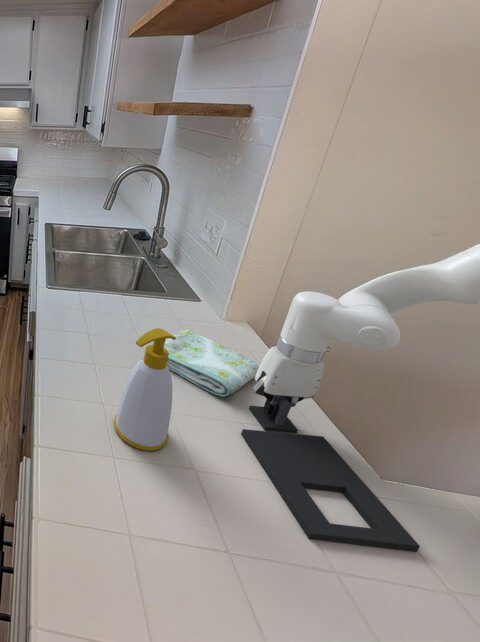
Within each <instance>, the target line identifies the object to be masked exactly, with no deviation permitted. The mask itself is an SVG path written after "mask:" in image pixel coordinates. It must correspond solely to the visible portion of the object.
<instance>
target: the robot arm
mask: <svg viewBox="0 0 480 642" xmlns="http://www.w3.org/2000/svg"><path fill="white" fill-rule="evenodd" d="M430 302H454V303H460V304H461V303H462V304H470V305H480V243H478V244H475V245H474V246H472V247H471V246H470V247H469V248H467V249H465V250H462V251H460V252H458V253H456V254H453V255H452V256H449V257H446V258H445V259H443V260H440V261H437V262H433V263H429V264H423V265H418V266H414V267H411V268H406V269H401V270H397V271H394V272H389V273H386V274H384V275H380V276H378V277H376V278H374V279H372V280H370V281H368V282H365V283H363V284H361V285H359V286H357V287H355V288H352V289H351V290H349V291H347V292H346V293H344V294H343V295H342V296H340V297H339V298H338V299H336V298H335V297H333V296H331V295H329V294H326V293H322V292H317V291H307V290H306V291H300V292H298V293H296V294H295V295H294V296H293V300H292V302H291V304H290V307H289V310H288V312H287V315H286V317H285V321H284V323H283V326H282V329H281V331H280V335H279V337H278V339H277V342H276V346H271V347H270V348H269V349H268V350H267V352H266V354H265V355H264V357H263V359H262V360H261V362H260V364H259V368H258V371H257V373H256V376H255V377H254V381H255V382H256V383H255V384H254V386H252V391H253V392H254V394H257V395H259V396H261V397H264V398H265V402H264V404H263V406H262V407H263V410H264V412H265V413H266V414H267V416H268V417H269V418H270V419H271V420H274V419H275V417H276V414H277V411H278V409H279V406H278V405H277V404H278V401H279V398H280V395H282V396H284V397H285V398H286V399H287V400H288V402H289V403H290V404H291V405H292V406H291V408H295V407H296V405H297V403H299V402H302V401H303V400H308V399H313V398H315V394H316V393H317V391H318V389H319V386H320V384H321V381H322V378H323V373H324V366H325V359H324V357H325V353H329V352H331V346H330V345H329V344H330V343H331V339H333V340H336V341H338V342H341V343H344V344H347V345H349V346H352V347H355V348H357V349H359V350H360V349H361V350H364V351H368V352H369V351H370V352H384V351H388V350H391V349H393V348H395V347H396V346H397V345H398V344H399V342H400V341H401V330H400V328H399V326H398V324H397V323H396V321H395V320H394V318H393V316H392V315H393V314H395V313H397V312H400V311H402V310H405V309H408V308H410V307H413V306H416V305H420V304H424V303H430Z"/></svg>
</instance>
